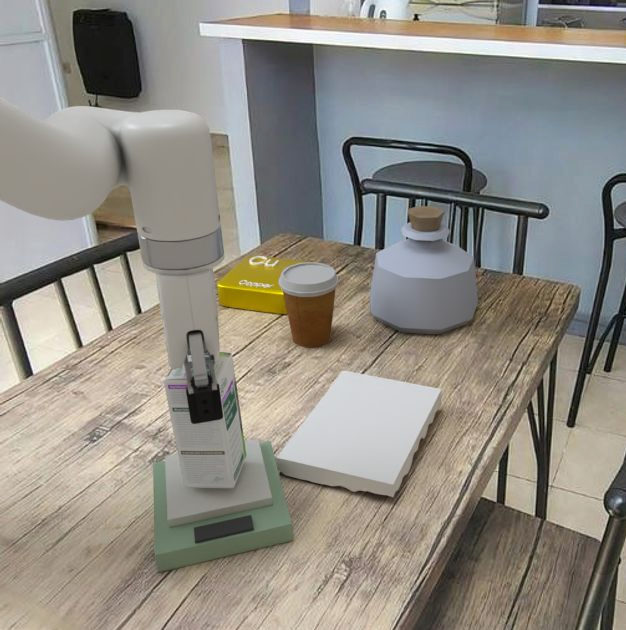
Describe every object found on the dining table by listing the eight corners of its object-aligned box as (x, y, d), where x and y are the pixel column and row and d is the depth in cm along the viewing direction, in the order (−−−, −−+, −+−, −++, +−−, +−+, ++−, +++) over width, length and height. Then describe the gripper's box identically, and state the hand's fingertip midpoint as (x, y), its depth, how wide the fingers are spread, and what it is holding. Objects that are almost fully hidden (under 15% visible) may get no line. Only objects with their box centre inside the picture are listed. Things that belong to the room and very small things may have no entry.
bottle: (350, 298, 128) (348, 201, 119) (442, 280, 136) (446, 188, 127) (396, 347, 112) (397, 240, 103) (496, 324, 120) (505, 222, 111)
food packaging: (393, 506, 80) (441, 408, 97) (393, 484, 79) (441, 389, 95) (279, 478, 84) (343, 389, 101) (276, 457, 83) (342, 370, 99)
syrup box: (235, 489, 75) (220, 379, 69) (181, 488, 75) (162, 378, 69) (247, 456, 81) (234, 350, 74) (197, 455, 81) (180, 349, 74)
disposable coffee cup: (317, 319, 120) (314, 256, 115) (351, 339, 114) (350, 274, 109) (271, 337, 114) (266, 271, 109) (305, 359, 108) (301, 291, 103)
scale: (158, 572, 70) (152, 547, 69) (156, 479, 83) (151, 455, 81) (293, 540, 75) (291, 516, 73) (272, 456, 87) (270, 433, 85)
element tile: (215, 306, 124) (211, 282, 121) (250, 273, 137) (248, 251, 134) (292, 316, 121) (291, 292, 119) (321, 282, 134) (320, 259, 132)
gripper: (140, 219, 71) (165, 364, 79) (139, 287, 57) (170, 456, 65) (215, 213, 73) (231, 354, 82) (232, 277, 59) (250, 441, 67)
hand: (204, 398), depth 73 cm, fingers closed on syrup box, 7 cm apart
